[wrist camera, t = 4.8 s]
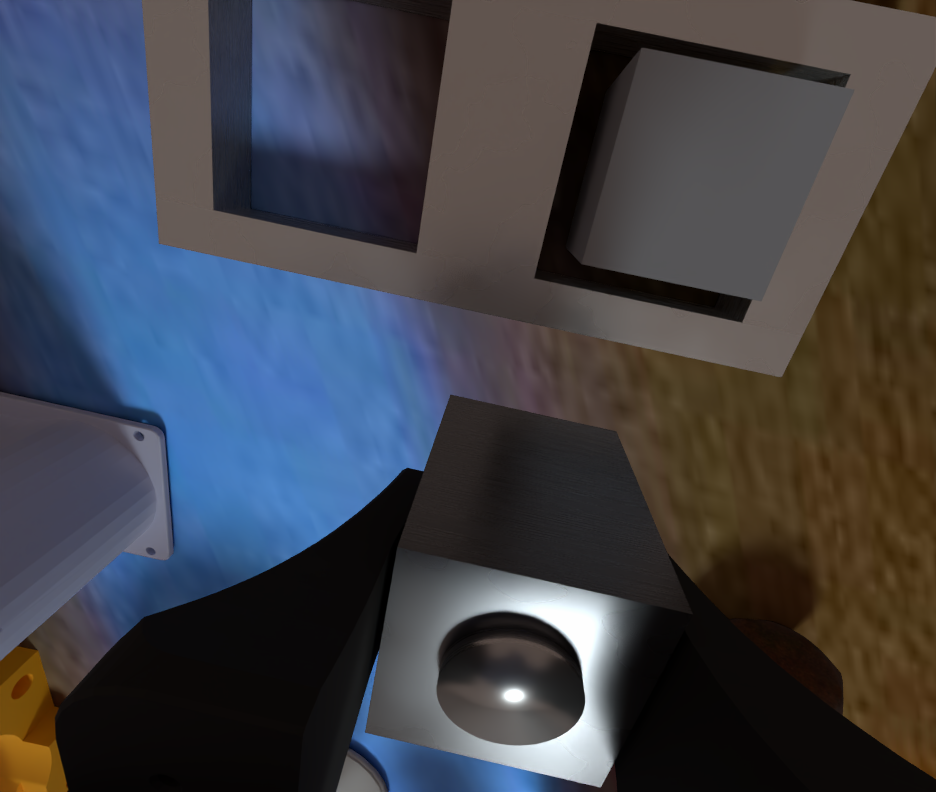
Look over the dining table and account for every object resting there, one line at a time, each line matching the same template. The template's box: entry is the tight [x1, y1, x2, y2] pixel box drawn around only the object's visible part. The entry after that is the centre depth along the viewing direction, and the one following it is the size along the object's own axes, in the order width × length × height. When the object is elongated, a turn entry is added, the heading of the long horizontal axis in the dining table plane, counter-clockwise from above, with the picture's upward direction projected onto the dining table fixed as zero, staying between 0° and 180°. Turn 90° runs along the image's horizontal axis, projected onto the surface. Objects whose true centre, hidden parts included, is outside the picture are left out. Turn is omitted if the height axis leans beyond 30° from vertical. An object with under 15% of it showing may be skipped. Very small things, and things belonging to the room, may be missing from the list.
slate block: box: [566, 47, 854, 301], centre depth 14 cm, size 5×5×5 cm
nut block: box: [365, 395, 693, 787], centre depth 11 cm, size 4×4×6 cm
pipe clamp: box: [0, 646, 68, 792], centre depth 30 cm, size 12×4×6 cm, turn 171°
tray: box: [142, 0, 936, 377], centre depth 15 cm, size 22×10×2 cm, turn 79°
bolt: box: [729, 619, 843, 715], centre depth 24 cm, size 6×5×15 cm
